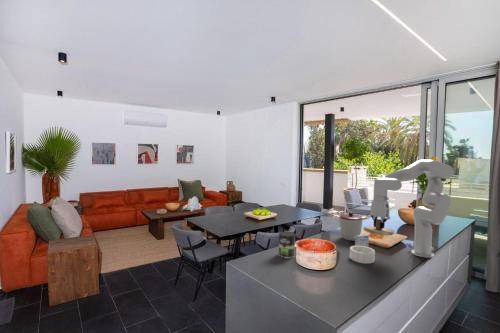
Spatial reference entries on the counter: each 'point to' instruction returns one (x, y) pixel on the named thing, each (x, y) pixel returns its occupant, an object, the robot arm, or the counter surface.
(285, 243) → the coffee can
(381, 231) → the oak lid
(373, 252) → the cream bowl
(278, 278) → the counter surface
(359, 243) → the medicine box
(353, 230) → the canister
